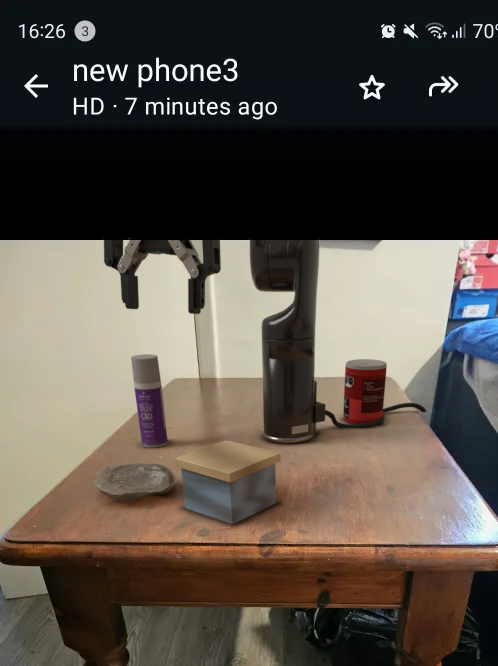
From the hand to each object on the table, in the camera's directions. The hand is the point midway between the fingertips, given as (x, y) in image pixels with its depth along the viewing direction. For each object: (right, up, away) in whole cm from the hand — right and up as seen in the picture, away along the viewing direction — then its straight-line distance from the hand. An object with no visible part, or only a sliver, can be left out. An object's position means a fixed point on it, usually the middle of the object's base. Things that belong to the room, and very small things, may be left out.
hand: (162, 311), depth 72 cm
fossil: (-6, -20, +14) cm, 25 cm away
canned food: (+32, +1, +46) cm, 56 cm away
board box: (+8, -23, +9) cm, 26 cm away
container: (-8, -7, +35) cm, 36 cm away
